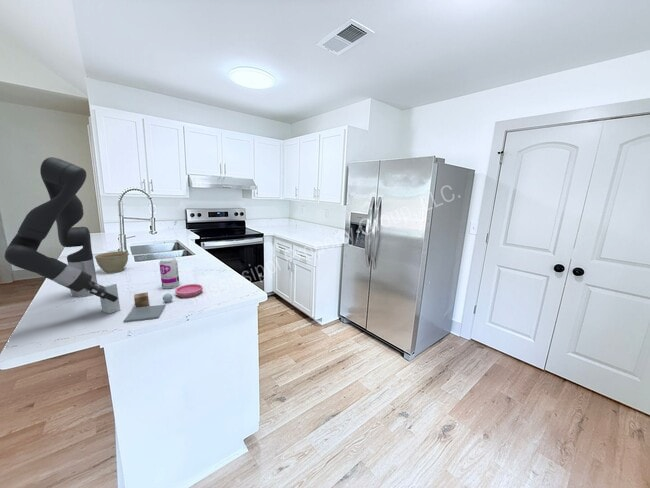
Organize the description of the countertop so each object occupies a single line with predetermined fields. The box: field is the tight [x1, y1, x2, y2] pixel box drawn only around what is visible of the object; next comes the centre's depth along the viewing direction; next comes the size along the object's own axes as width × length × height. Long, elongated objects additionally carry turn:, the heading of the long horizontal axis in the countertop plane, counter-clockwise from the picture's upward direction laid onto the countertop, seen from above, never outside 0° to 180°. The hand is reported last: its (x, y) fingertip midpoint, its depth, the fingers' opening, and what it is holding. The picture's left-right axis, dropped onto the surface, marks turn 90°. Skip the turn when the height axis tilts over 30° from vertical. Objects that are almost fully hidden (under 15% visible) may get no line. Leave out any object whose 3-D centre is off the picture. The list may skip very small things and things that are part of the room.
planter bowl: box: [94, 251, 129, 274], centre depth 164 cm, size 16×16×11 cm
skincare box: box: [98, 281, 121, 314], centre depth 112 cm, size 6×4×12 cm
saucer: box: [174, 283, 204, 298], centre depth 133 cm, size 12×12×3 cm
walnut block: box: [133, 291, 150, 308], centre depth 118 cm, size 5×5×5 cm
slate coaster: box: [123, 304, 166, 323], centre depth 111 cm, size 12×12×1 cm
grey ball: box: [162, 293, 174, 303], centre depth 122 cm, size 4×4×4 cm
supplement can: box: [159, 257, 180, 289], centre depth 141 cm, size 8×8×15 cm
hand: (114, 297), depth 113 cm, fingers closed on skincare box, 7 cm apart
